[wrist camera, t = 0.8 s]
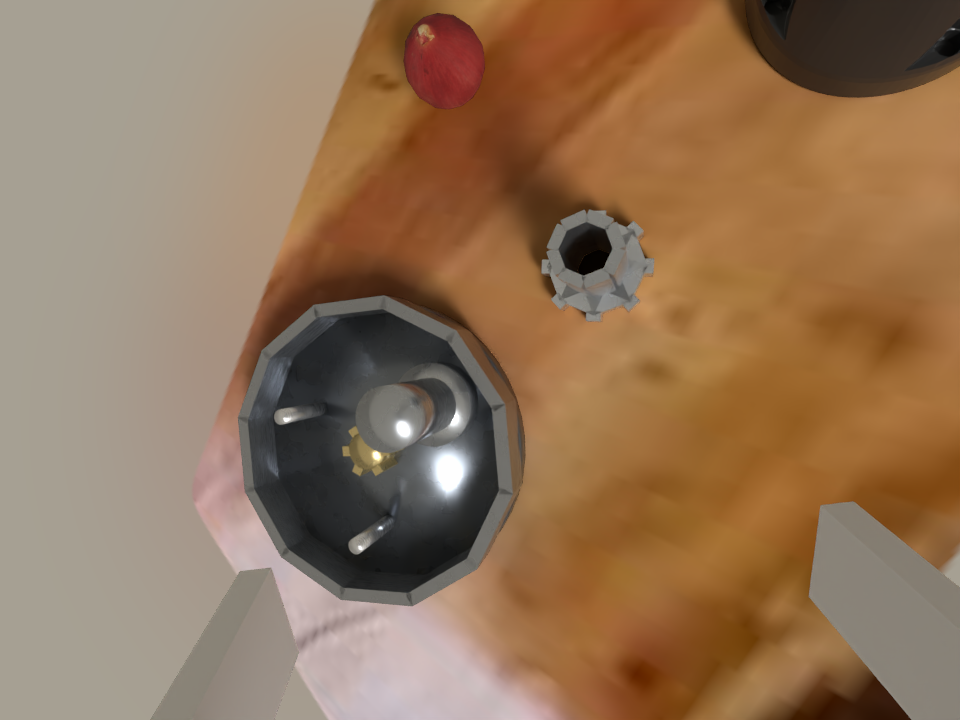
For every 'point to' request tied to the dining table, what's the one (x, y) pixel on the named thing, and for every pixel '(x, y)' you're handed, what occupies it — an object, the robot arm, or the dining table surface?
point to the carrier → (381, 448)
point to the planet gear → (605, 284)
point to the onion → (444, 61)
